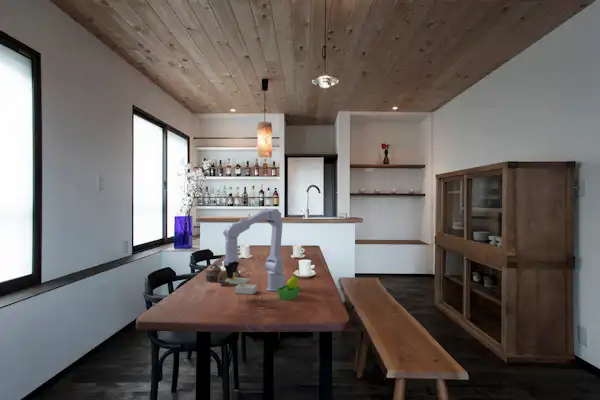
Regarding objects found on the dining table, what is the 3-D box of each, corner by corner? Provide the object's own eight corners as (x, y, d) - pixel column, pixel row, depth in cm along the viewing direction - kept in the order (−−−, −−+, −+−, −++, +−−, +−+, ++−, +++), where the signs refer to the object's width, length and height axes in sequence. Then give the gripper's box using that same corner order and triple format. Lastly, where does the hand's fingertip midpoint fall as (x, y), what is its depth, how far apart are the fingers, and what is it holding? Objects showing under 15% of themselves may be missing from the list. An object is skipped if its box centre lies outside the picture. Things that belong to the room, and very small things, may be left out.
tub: (256, 291, 190) (256, 284, 190) (252, 294, 184) (252, 287, 184) (239, 290, 192) (239, 284, 192) (235, 293, 186) (235, 287, 186)
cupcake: (212, 278, 222) (212, 262, 222) (224, 279, 217) (224, 263, 217) (201, 281, 213) (201, 264, 213) (214, 283, 209) (214, 266, 209)
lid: (249, 282, 179) (250, 272, 179) (244, 285, 172) (245, 275, 172) (230, 280, 181) (231, 271, 181) (225, 283, 174) (225, 274, 174)
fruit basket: (288, 294, 185) (288, 272, 185) (303, 296, 181) (303, 274, 180) (276, 299, 175) (276, 276, 175) (291, 302, 171) (291, 278, 171)
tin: (220, 286, 201) (220, 271, 201) (216, 285, 203) (216, 271, 203) (240, 281, 213) (240, 267, 213) (236, 280, 215) (236, 267, 215)
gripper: (229, 247, 185) (229, 274, 185) (217, 252, 170) (217, 280, 171) (242, 248, 183) (242, 274, 183) (231, 252, 169) (231, 281, 169)
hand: (231, 277), depth 177 cm, fingers closed on lid, 3 cm apart
